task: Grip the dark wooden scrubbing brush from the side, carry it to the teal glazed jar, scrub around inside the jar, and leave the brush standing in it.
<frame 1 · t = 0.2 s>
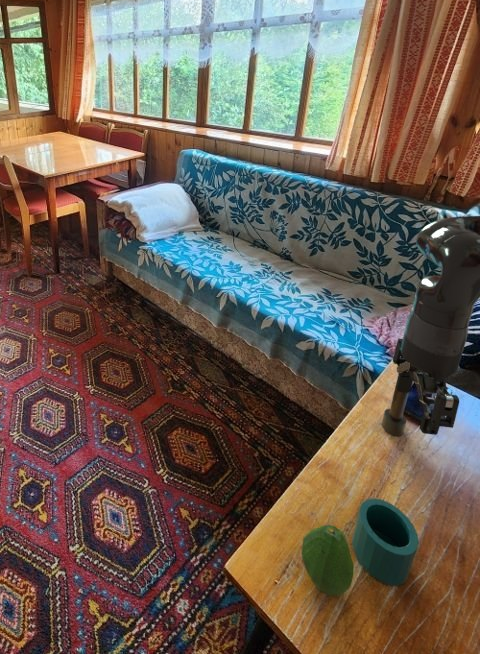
hand: (414, 410, 66), 27 cm above the table, tool pointing down, fingers open, 8 cm apart
jar: (379, 555, 68), on the table
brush: (392, 428, 91), on the table
avocado: (323, 577, 66), on the table
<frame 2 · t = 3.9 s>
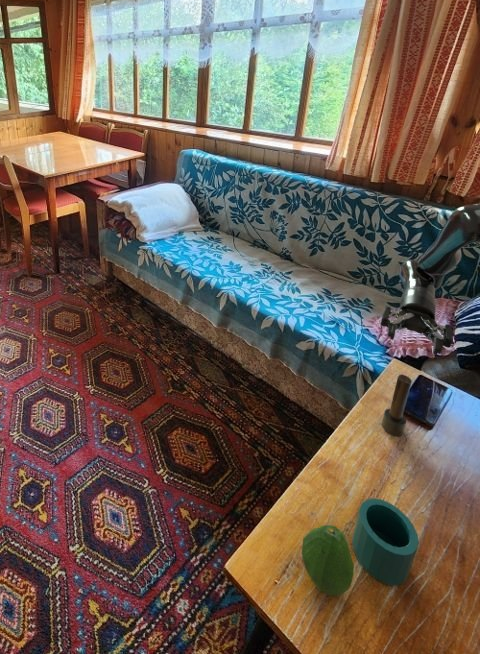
hand: (413, 344, 90), 20 cm above the table, tool horizontal, fingers open, 8 cm apart
nothing on the table moved.
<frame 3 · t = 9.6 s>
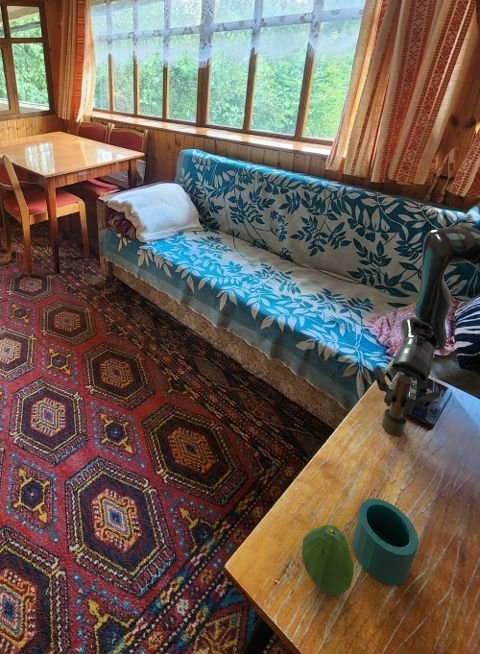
hand: (396, 407, 86), 10 cm above the table, tool horizontal, fingers closed on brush, 2 cm apart
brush: (392, 428, 91), on the table, touching gripper
everything else where it was.
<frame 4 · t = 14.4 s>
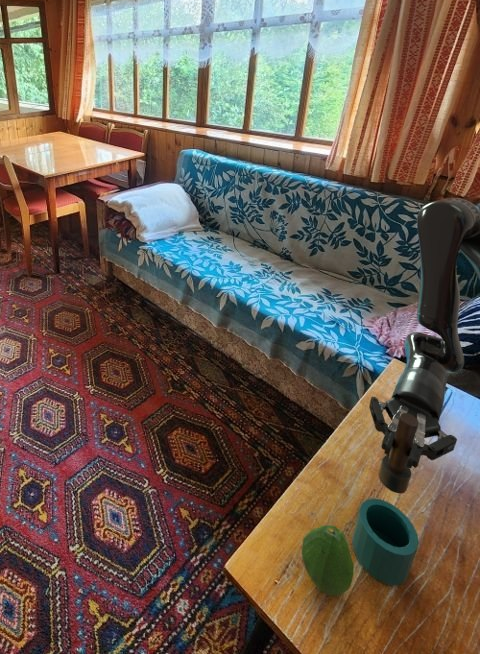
hand: (398, 457, 64), 22 cm above the table, tool horizontal, fingers closed on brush, 2 cm apart
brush: (392, 480, 69), point 12 cm above the table, touching gripper
everything else where it was.
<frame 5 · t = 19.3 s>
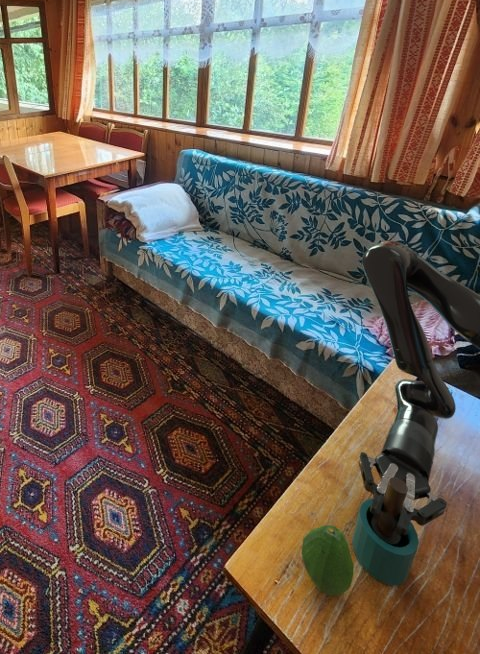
hand: (387, 523, 62), 13 cm above the table, tool horizontal, fingers closed on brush, 2 cm apart
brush: (381, 542, 67), point 4 cm above the table, touching gripper
everything else where it was.
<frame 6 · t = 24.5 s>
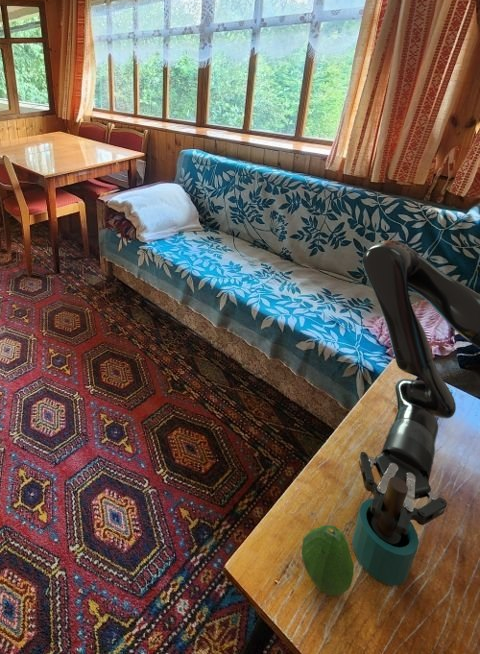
hand: (387, 523, 62), 13 cm above the table, tool horizontal, fingers closed on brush, 2 cm apart
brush: (381, 542, 67), point 4 cm above the table, touching gripper
everything else where it was.
when the fingers open (14 cm above the table, at t = 29.4 s): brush drops 3 cm, resting on jar.
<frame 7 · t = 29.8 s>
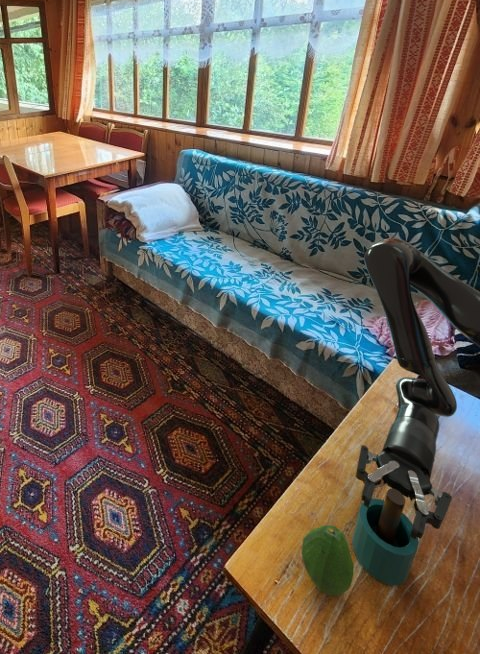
hand: (389, 518, 62), 14 cm above the table, tool horizontal, fingers open, 6 cm apart
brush: (380, 552, 68), point 1 cm above the table, touching jar
everything else where it was.
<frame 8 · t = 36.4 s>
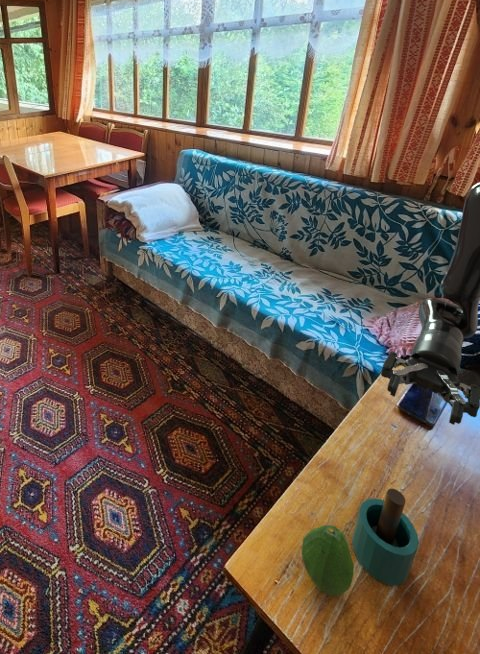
hand: (421, 405, 66), 28 cm above the table, tool horizontal, fingers open, 8 cm apart
nothing on the table moved.
at the end: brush 0.0 cm off-centre in the jar, point 0.8 cm above the jar's base; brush tilted 0°; the gripper is holding nothing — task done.
